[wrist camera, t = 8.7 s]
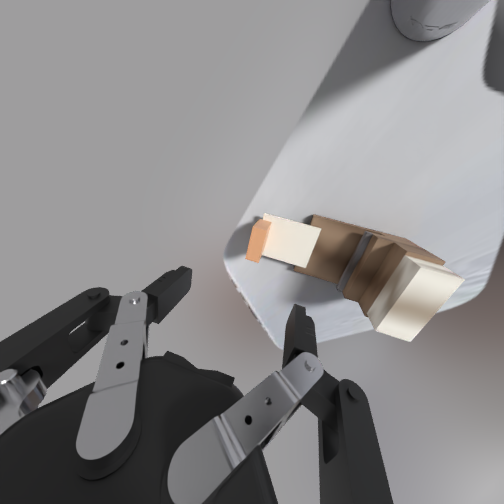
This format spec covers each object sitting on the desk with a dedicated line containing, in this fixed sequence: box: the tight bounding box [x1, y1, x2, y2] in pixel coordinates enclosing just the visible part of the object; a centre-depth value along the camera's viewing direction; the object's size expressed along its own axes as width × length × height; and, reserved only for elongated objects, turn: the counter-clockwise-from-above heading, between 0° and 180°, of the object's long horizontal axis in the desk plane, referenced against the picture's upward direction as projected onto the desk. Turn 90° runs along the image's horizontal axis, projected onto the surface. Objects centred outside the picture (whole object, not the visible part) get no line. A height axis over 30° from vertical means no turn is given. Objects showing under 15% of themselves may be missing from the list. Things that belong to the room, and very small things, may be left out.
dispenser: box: [294, 214, 465, 342], centre depth 25 cm, size 10×14×11 cm
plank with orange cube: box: [245, 213, 321, 268], centre depth 27 cm, size 7×10×6 cm
